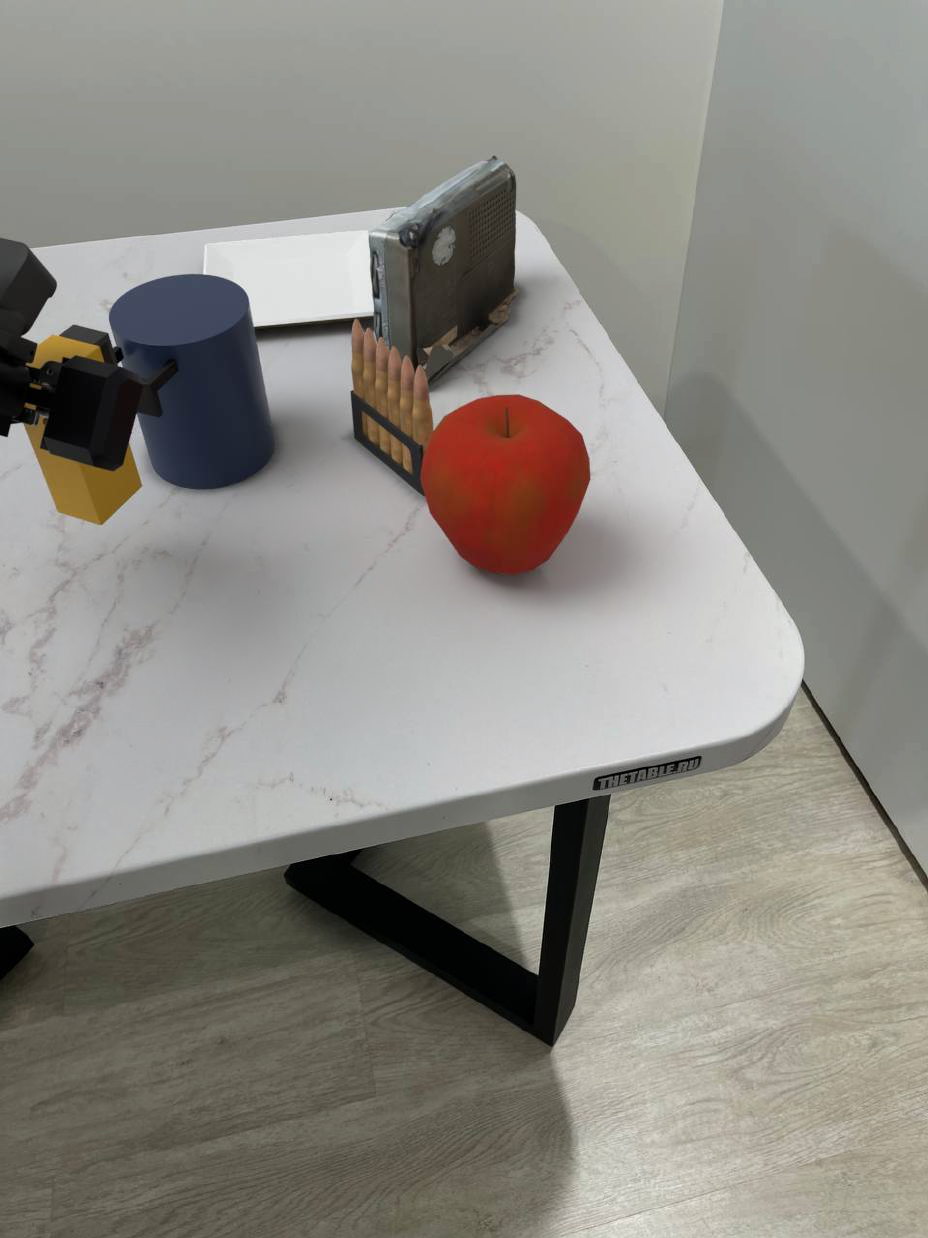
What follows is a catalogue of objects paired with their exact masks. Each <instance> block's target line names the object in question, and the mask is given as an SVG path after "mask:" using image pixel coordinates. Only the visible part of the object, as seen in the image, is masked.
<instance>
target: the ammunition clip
mask: <svg viewBox="0 0 928 1238" xmlns="http://www.w3.org/2000/svg"><path fill="white" fill-rule="evenodd" d="M350 335H351V338H350V339H351V341H350V343H351V365H350V368H351V377H352V388H353V389H352V390H350V392H349V393H350V404H351V417H352V428H353V429H352V430H353V438H354V439H355V440H356V441H357V442H359V444H360V445H362V446H363V447H364V448H365V449H367V451H369V452H370V453H371V454H372V455H374V456H375V457H376V458H377V459H378V460H380V461H381V462H382V463H383V464H384V465H386V466H387V467H388V468H389V469H390V470H391V471H393V472H394V473H395V474H396V475H398V476H399V477H400V478H401V479H402V480H403V481H404V482H406V483H407V484H408V485H409V486H410V487H412V488H413V489H414V490H415V491H416V492H417V493H419V494H420V495H421V496H425V494H424V490H423V487H422V483H421V480H420V477H421V469H422V460H423V456H424V453H425V450H426V447H427V445H428V442H429V439H430V436H431V434H432V432H433V431H434V419H433V418H434V416H433V408H432V405H431V398H430V391H429V389H430V388H429V385H428V382H427V377H426V374H425V371H424V369H423V367H422V366H421V365H419V366H418V367H417V370H416V373H414V368H413V365H412V362H411V360H410V358H409V356H408V355H406V356H405V357H404V360H403V363H401V359H400V355H399V353H398V350H397V349H396V347H395V346H393V347H392V348H391V351H390V355H389V351H388V348H387V345H386V343H385V340H384V339H383V337H380V338H379V340H378V343H377V340H376V336H375V334H374V333H373V331H372V329H371V327H366V331H365V332H364V330H363V327H362V324H361V323H360V320H359V319H355V320H353V323H352V329H351V334H350Z"/></svg>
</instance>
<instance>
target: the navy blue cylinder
mask: <svg viewBox="0 0 928 1238" xmlns="http://www.w3.org/2000/svg"><path fill="white" fill-rule="evenodd" d="M108 322H109V323H108V324H109V326H110V329H111V330H110V331H111V332H112V336H113V340H114V343H115V346H113V350H114V353H115V357H116V360H117V363H118V364H119V363H121V367H123V368H125V369H127V370H130V371H132V372H135V373H137V374H139V376H140V378H141V380H142V382H143V384H144V387H143V391H142V395H141V399H140V402H139V406H138V410H137V414H136V417H137V419H138V423H139V427H140V430H141V433H142V436H143V440H144V443H145V447H146V450H147V453H148V456H149V460H150V464H151V467H152V468H153V470H154V471H155V473H156V474H157V476H159V477H160V478H161V479H162V480H164V481H165V482H168V483H170V484H172V485H175V486H178V487H180V488H186V489H194V490H207V489H208V490H210V489H217V488H223V487H227V486H228V487H229V486H231V485H234V484H238V483H240V482H242V481H245V480H247V479H249V478H251V477H252V476H254V475H255V474H257V473H259V472H260V471H261V470H262V469H263V468H264V467H265V466H266V465H268V463H269V462H270V460H271V459H272V457H273V455H274V452H275V449H276V439H275V433H274V430H273V429H274V428H273V423H272V418H271V411H270V407H269V401H268V396H267V391H266V386H265V380H264V379H265V378H264V375H263V374H264V373H263V368H262V364H261V357H260V352H259V348H258V342H257V336H256V331H255V330H256V329H254V325H253V319H252V314H251V308H250V303H249V298H248V295H247V293H246V292H245V290H244V289H243V288H242V287H241V286H239V285H238V284H236V283H235V282H232V281H230V280H228V279H225V278H222V277H218V276H213V275H205V274H203V273H202V274H201V273H184V274H175V275H174V274H173V275H168V276H163V277H159V278H155V279H152V280H149V281H146V282H143V283H141V284H138V285H137V286H135V287H132V288H131V289H129V290H128V291H126V292H125V293H123V294H122V295H121V296H120V297H119V298H117V299H116V300H115V302H114V303H113V304H112V305H111V307H110V309H109V313H108Z"/></svg>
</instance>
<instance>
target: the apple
mask: <svg viewBox="0 0 928 1238" xmlns="http://www.w3.org/2000/svg"><path fill="white" fill-rule="evenodd" d="M420 480H421V483H422V487H423V490H424V494H425V495H424V497H425V500H426V504H427V507H428V510H429V514H430V515H431V517H432V518H433V520H434V521H435V522H436V524H437V525H438V527H439V529H440V530H441V531H442V533H443V534H444V536H445V537H446V538H447V540H448V541H449V542H450V544H451V545H452V546H453V548H454V549H455V551H456V552H457V554H458V555H459V556H460V557H461V558H462V559H463V560H465V561H466V562H468V563H469V564H470V565H471V566H473V567H475V568H477V569H481V570H483V571H486V572H489V573H492V574H503V575H517V574H521V573H527V572H529V571H533V570H535V569H537V568H539V567H540V566H542V565H543V564H545V563H546V562H547V561H549V560H550V559H551V557H552V556H553V555H554V553H555V552H556V550H557V549H558V547H559V545H561V543H562V541H563V540H564V538H565V537H566V536H567V534H568V533H569V532H570V529H571V528H572V525H573V524H574V522H575V520H576V518H577V516H578V514H579V513H580V509H581V506H582V504H583V501H584V498H585V495H586V493H587V490H588V488H589V485H590V482H591V480H592V479H591V461H590V456H589V453H588V449H587V446H586V442H585V440H584V436H583V434H582V433H581V432H580V430H578V429H577V428H576V426H574V425H573V423H572V422H571V421H570V420H568V418H565V417H564V416H562V415H561V414H559V413H558V412H556V411H555V410H553V409H552V408H550V407H549V406H547V405H546V404H544V403H542V401H539V400H537V399H535V398H531V397H528V396H525V395H523V394H495V395H490V396H485V397H481V398H479V397H478V398H476V399H474V400H471V401H470V402H467V403H466V404H463V405H461V406H459V407H457V408H456V409H454V410H453V411H450V412H449V413H447V414H445V415H443V417H442V418H441V420H440V421H439V423H437V425H436V426H435V428H433V432H432V434H431V436H430V439H429V442H428V445H427V447H426V450H425V453H424V456H423V460H422V469H421V477H420Z"/></svg>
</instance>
